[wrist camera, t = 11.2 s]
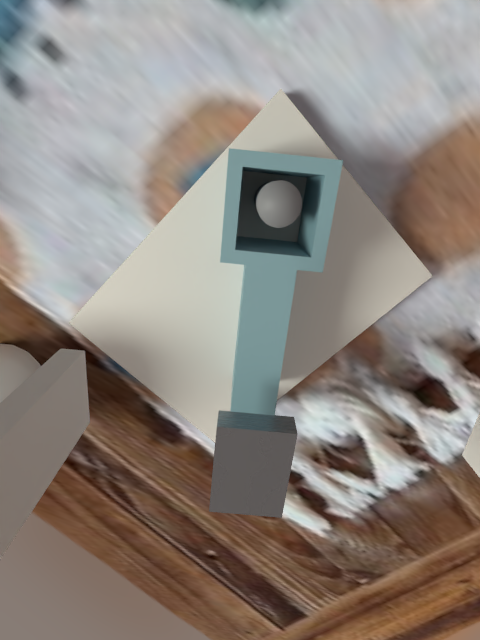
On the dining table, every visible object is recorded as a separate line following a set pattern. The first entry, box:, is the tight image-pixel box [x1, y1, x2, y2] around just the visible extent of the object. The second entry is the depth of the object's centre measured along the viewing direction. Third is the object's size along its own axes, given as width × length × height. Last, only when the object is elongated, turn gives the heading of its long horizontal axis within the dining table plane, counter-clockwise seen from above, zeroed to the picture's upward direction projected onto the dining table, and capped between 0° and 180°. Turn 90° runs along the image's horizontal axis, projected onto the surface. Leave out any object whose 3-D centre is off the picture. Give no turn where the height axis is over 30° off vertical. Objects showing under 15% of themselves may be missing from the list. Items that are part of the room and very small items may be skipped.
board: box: [69, 89, 432, 442], centre depth 25 cm, size 23×17×8 cm
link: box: [220, 148, 343, 415], centre depth 24 cm, size 17×6×6 cm, turn 174°
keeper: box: [209, 410, 297, 518], centre depth 26 cm, size 6×4×12 cm
